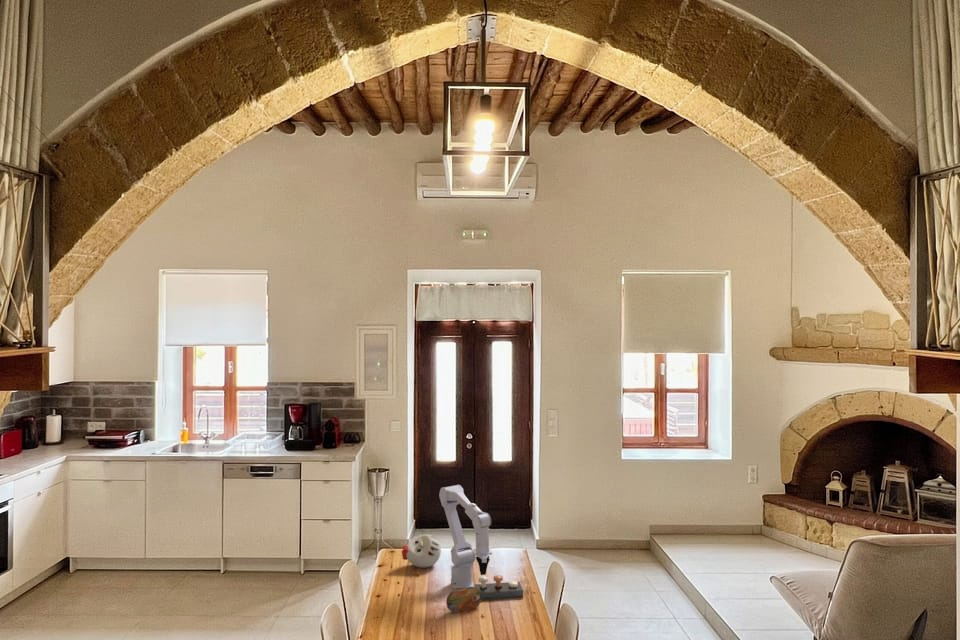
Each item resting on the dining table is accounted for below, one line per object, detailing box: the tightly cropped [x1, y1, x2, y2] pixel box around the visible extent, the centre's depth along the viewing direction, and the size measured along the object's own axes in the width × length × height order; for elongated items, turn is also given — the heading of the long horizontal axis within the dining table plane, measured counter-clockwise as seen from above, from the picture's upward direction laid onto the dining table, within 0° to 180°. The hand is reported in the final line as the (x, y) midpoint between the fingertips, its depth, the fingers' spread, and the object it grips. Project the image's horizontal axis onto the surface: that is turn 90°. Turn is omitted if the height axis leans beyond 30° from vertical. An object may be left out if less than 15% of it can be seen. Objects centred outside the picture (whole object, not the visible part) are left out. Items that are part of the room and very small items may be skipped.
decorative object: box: [401, 534, 442, 569], centre depth 319 cm, size 15×19×15 cm
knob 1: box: [478, 575, 489, 589], centre depth 281 cm, size 4×4×4 cm
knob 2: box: [508, 580, 519, 588], centre depth 283 cm, size 4×4×4 cm
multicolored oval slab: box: [445, 587, 482, 614], centre depth 267 cm, size 15×3×8 cm, turn 117°
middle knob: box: [493, 574, 504, 588], centre depth 282 cm, size 4×4×4 cm
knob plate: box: [473, 581, 524, 601], centre depth 282 cm, size 20×10×3 cm, turn 95°
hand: (483, 574), depth 282 cm, fingers closed
